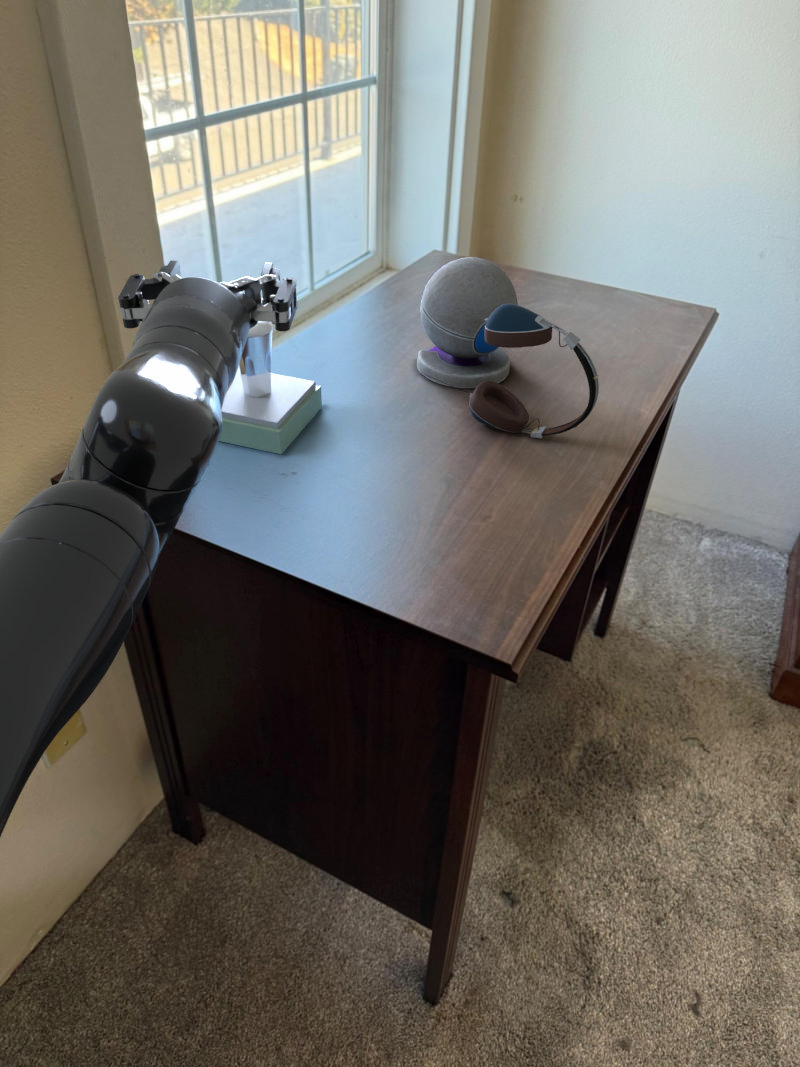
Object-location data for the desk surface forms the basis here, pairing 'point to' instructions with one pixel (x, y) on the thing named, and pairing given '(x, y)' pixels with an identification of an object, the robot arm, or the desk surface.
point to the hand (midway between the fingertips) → (223, 272)
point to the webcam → (464, 323)
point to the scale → (269, 413)
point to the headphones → (499, 403)
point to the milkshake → (257, 360)
